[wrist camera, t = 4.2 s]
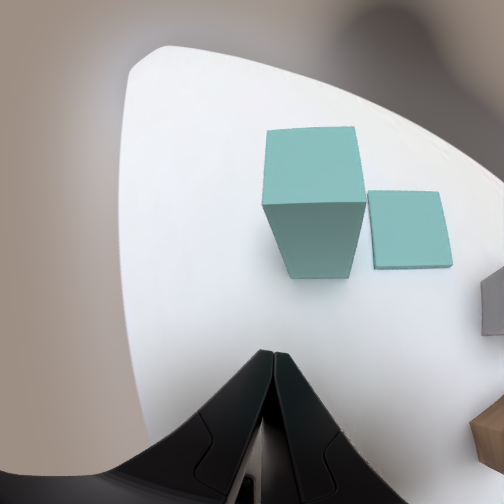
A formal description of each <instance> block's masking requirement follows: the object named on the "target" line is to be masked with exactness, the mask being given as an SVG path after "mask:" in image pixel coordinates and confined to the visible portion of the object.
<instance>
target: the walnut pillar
mask: <svg viewBox="0 0 504 504" xmlns="http://www.w3.org/2000/svg"><path fill="white" fill-rule="evenodd" d="M470 425H471V429H472V433H473V436H474V440H475V444H476V448H477V453H478V457H479V462H481V463H483V464H485V465H486V466H488V467H490V468H492V469H494V470H496V471H498V472H500V473H502V474H504V395H503V396H502V397H501V398H500V399H498V400H497V401H496V402H495V403H494V404H493V405H491V406H490V407H489V408H488V409H486V410H485V411H484V412H482V413H481V414H480V415H479V416H477V417H476V418H475V419H473V420H472V421H471V422H470Z"/></svg>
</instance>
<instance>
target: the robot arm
mask: <svg viewBox="0 0 504 504" xmlns="http://www.w3.org/2000/svg"><path fill="white" fill-rule="evenodd" d="M262 418H263V420H262ZM261 422H262V464H261V504H408V503H407V502H406V501H405V500H403V499H402V498H401V497H400V496H399V495H398V494H397V493H396V492H395V491H394V490H393V489H392V488H391V487H390V486H389V485H388V484H387V483H386V482H385V481H384V480H383V479H382V478H381V477H380V476H379V475H378V474H377V473H376V472H375V471H374V470H373V469H372V468H371V466H370V465H369V464H368V463H367V462H366V461H365V460H364V459H363V458H362V456H361V455H360V454H359V453H358V452H357V450H356V449H355V448H354V446H353V445H352V444H351V443H350V441H349V440H348V438H347V437H346V436H345V434H344V433H343V432H342V431H341V429H340V427H339V426H338V425H337V423H336V422H335V420H334V419H333V417H332V416H331V415H330V413H329V412H328V410H327V409H326V407H325V406H324V405H323V403H322V402H321V400H320V399H319V397H318V396H317V394H316V393H315V392H314V390H313V389H312V387H311V386H310V384H309V383H308V381H307V380H306V378H305V377H304V375H303V374H302V373H301V371H300V370H299V368H298V367H297V365H296V364H295V362H294V361H293V359H292V358H291V356H290V355H289V354H288V353H282V352H275V353H273V352H272V351H268V350H261V349H260V350H258V351H257V352H256V353H255V355H254V356H253V357H252V358H251V359H250V360H249V361H248V362H247V363H246V364H245V365H244V366H243V367H242V368H241V369H240V370H239V371H238V372H237V373H236V374H235V375H234V376H233V377H232V378H231V379H230V380H229V381H228V382H227V383H226V384H225V385H224V386H223V387H222V388H221V389H220V390H219V391H218V392H217V393H216V394H215V395H214V396H212V397H211V398H210V399H209V400H208V401H207V402H206V403H205V404H204V405H203V406H202V407H201V408H200V409H199V410H198V411H197V412H195V413H194V414H193V415H192V416H191V417H190V418H189V419H188V420H187V421H185V422H184V423H183V424H182V425H181V426H180V427H178V428H177V429H176V430H175V431H173V432H172V433H171V434H169V435H168V436H166V437H165V438H163V439H162V440H160V441H159V442H157V443H156V444H154V445H153V446H151V447H150V448H148V449H146V450H145V451H143V452H142V453H140V454H138V455H136V456H135V457H133V458H131V459H130V460H128V461H126V462H124V463H123V464H121V465H119V466H117V467H115V468H113V469H111V470H109V471H106V472H103V473H99V474H95V475H86V476H31V475H17V474H12V473H7V472H4V471H1V470H0V504H255V478H254V477H253V476H252V475H249V474H245V472H246V469H247V466H248V463H249V460H250V457H251V454H252V451H253V448H254V445H255V442H256V439H257V436H258V433H259V430H260V426H261ZM244 479H248V480H249V481H250V483H246V482H245V480H244Z"/></svg>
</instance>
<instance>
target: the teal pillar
mask: <svg viewBox="0 0 504 504" xmlns="http://www.w3.org/2000/svg"><path fill="white" fill-rule="evenodd" d="M366 202H367V201H366V193H365V186H364V179H363V172H362V166H361V159H360V154H359V148H358V142H357V137H356V132H355V127H313V128H294V129H280V130H268V131H267V136H266V151H265V165H264V179H263V193H262V207H263V209H264V212H265V214H266V217H267V219H268V222H269V224H270V227H271V229H272V232H273V234H274V237H275V239H276V242H277V244H278V247H279V249H280V252H281V254H282V257H283V260H284V262H285V265H286V267H287V270H288V273H289V275H290V278H291V279H304V278H349V274H350V271H351V267H352V263H353V259H354V255H355V251H356V247H357V243H358V239H359V234H360V230H361V226H362V221H363V217H364V212H365V207H366Z"/></svg>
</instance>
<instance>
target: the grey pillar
mask: <svg viewBox="0 0 504 504" xmlns="http://www.w3.org/2000/svg"><path fill="white" fill-rule="evenodd" d="M481 292H482V336H491V335H504V266H503V267H502V268H501V269H499V270H498V271H496V272H495V273H493V274H492V275H490V276H489V277H488V278H486V279H485V280H483V281H481Z"/></svg>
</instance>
